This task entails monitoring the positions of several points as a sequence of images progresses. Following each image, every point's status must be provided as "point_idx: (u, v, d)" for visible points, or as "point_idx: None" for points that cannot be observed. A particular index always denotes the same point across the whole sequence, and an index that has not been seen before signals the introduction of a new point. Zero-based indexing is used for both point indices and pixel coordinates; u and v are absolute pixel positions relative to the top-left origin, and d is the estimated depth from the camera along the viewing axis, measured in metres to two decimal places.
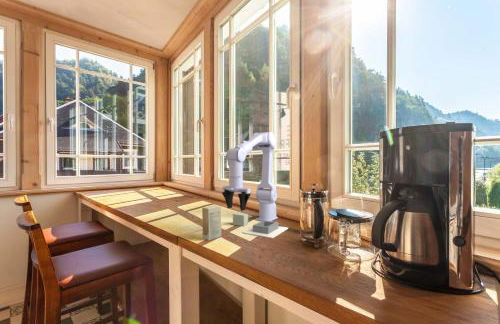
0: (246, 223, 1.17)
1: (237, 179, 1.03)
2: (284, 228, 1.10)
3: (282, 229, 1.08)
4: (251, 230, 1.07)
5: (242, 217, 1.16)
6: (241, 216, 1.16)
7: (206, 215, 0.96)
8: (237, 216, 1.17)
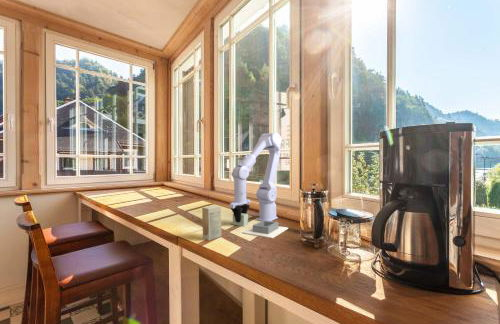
0: (246, 223, 1.17)
1: (234, 194, 1.17)
2: (284, 228, 1.10)
3: (282, 229, 1.08)
4: (251, 230, 1.07)
5: (242, 217, 1.16)
6: (241, 216, 1.16)
7: (206, 215, 0.96)
8: None
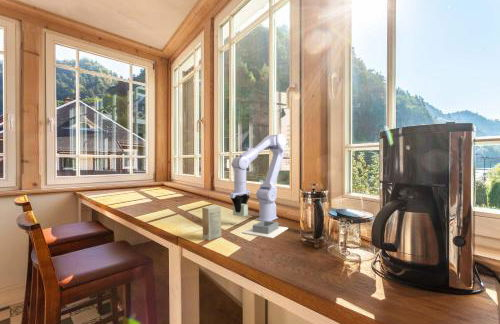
0: (246, 213, 1.17)
1: (234, 184, 1.17)
2: (284, 228, 1.10)
3: (282, 229, 1.08)
4: (251, 230, 1.07)
5: (242, 207, 1.15)
6: (241, 206, 1.16)
7: (206, 215, 0.96)
8: None
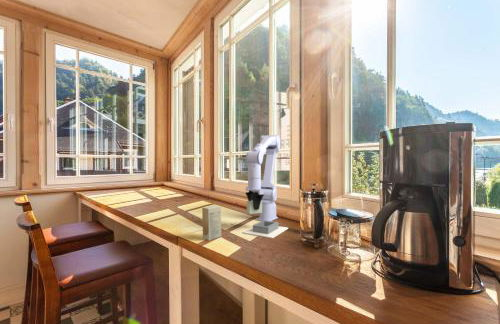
0: None
1: (253, 180, 1.09)
2: (284, 228, 1.10)
3: (282, 229, 1.08)
4: (251, 230, 1.07)
5: (261, 203, 1.11)
6: None
7: (206, 215, 0.96)
8: None
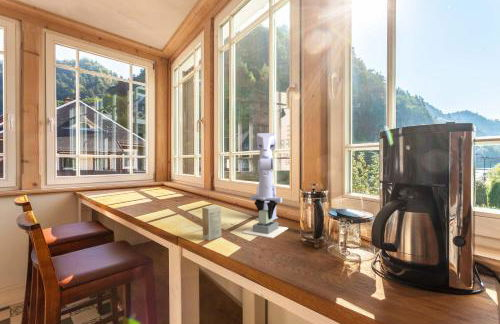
0: None
1: (269, 189, 1.05)
2: (284, 228, 1.10)
3: (282, 229, 1.08)
4: (251, 230, 1.07)
5: None
6: None
7: (206, 215, 0.96)
8: None
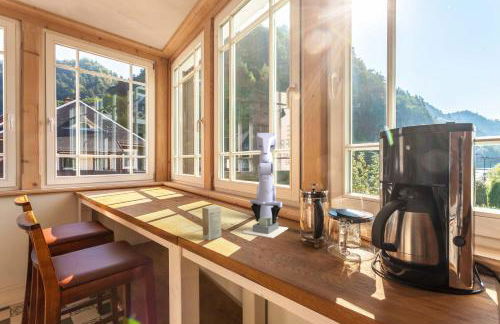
0: None
1: (269, 193, 1.05)
2: (284, 228, 1.10)
3: (282, 229, 1.08)
4: (251, 230, 1.07)
5: (271, 219, 1.09)
6: (271, 219, 1.09)
7: (206, 215, 0.96)
8: (269, 220, 1.07)
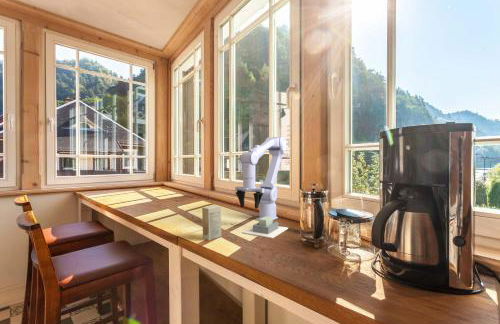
0: None
1: (252, 180, 1.14)
2: (284, 228, 1.10)
3: (282, 229, 1.08)
4: (251, 230, 1.07)
5: (271, 219, 1.09)
6: (271, 219, 1.09)
7: (206, 215, 0.96)
8: (269, 220, 1.07)
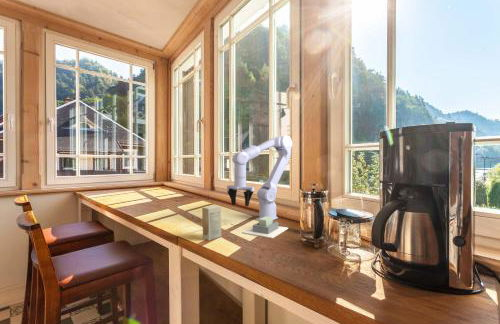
0: None
1: (242, 179, 1.19)
2: (284, 228, 1.10)
3: (282, 229, 1.08)
4: (251, 230, 1.07)
5: (271, 219, 1.09)
6: (271, 219, 1.09)
7: (206, 215, 0.96)
8: (269, 220, 1.07)
